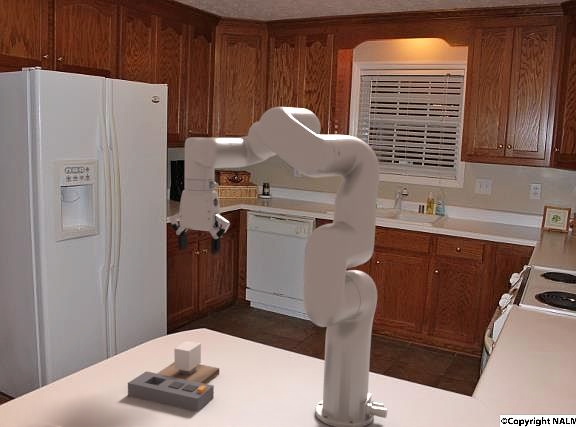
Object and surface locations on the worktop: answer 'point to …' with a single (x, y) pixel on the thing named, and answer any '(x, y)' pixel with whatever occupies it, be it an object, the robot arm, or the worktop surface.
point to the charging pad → (200, 375)
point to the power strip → (171, 391)
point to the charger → (187, 357)
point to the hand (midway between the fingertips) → (198, 251)
